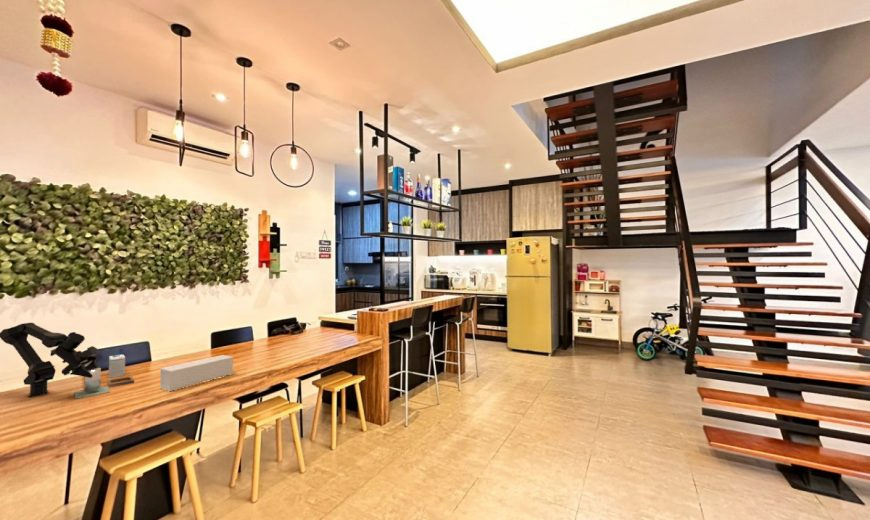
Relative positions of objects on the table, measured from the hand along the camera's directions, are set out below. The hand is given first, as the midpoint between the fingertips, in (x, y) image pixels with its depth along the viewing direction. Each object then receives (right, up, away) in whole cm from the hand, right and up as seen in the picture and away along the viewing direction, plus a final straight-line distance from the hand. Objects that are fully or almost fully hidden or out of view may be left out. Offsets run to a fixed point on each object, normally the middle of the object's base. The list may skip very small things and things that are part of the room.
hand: (95, 375), depth 176 cm
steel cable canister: (-1, -7, -1) cm, 7 cm away
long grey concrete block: (+41, -10, +17) cm, 45 cm away
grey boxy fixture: (-16, -10, +29) cm, 35 cm away
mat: (-1, -9, -1) cm, 9 cm away
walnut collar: (0, -9, +14) cm, 17 cm away
